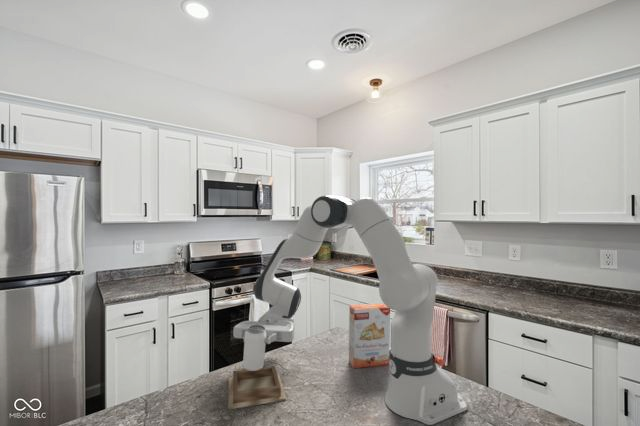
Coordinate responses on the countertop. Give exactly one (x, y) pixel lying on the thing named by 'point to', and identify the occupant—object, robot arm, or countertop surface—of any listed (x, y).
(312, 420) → the countertop surface
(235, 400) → the wooden serving tray
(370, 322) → the cracker box
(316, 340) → the countertop surface
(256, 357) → the can
